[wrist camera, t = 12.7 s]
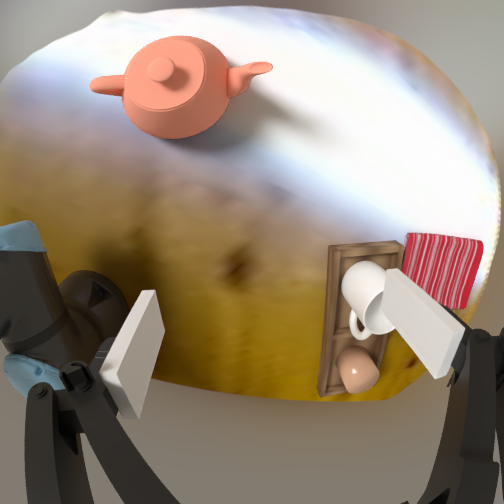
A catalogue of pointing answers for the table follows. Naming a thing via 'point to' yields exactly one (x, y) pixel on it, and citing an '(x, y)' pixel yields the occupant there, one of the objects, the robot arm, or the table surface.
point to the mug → (366, 299)
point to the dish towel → (442, 266)
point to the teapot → (178, 86)
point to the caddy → (349, 309)
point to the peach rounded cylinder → (356, 369)
